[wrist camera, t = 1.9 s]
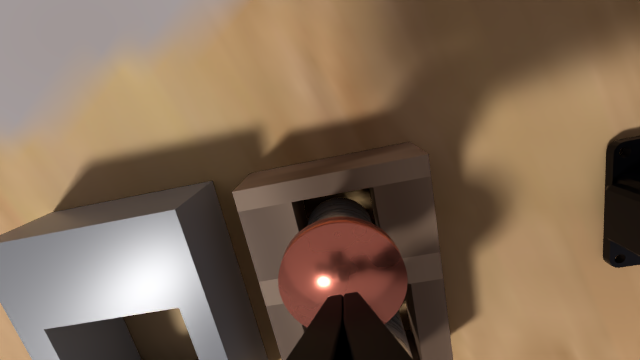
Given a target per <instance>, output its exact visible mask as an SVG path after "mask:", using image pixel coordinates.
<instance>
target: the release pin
mask: <svg viewBox="0 0 640 360" xmlns="http://www.w3.org/2000/svg"><path fill="white" fill-rule="evenodd" d="M407 283H408V279H407V271H406V267H405V264H404V261H403V259H402V257H401V254H400V252H399V249H398V248H397V246H396V244H395V242H394V241H393V240H392V239H391V237H390V236H389V235H388V234H387V233H386V232H385V231H383V230H382V229H380V228H379V227H378V226H376V225H374V224H372V222H371V218H370V216H369V214H368V212H367V211H366V210H365V208H364V207H363V206H362V205H360V204H359V203H357V202H355V201H353V200H351V199H347V198H332V199H328V200H326V201H324V202H322V203H320V204H319V205H318V206H317V207H316V208H315V209H314V210H313V211H312V213H311V214H310V217H309V219H308V223H307V226H306V227H305V228H304V229H302V230H301V231H300V232H299V233H298V234H296V235H295V236H294V238H293V239H292V240H291V241H290V243H289V245H288V246H287V248H286V250H285V253H284V255H283V258H282V262H281V265H280V269H279V275H278V287H279V292H280V296H281V298H282V301H283V303H284V305H285V307H286V308H287V310H288V311H289V313H290V314H291V315H292V316H293V317H294V318H295V319H296V320H297V321H298V322H300V323H301V324H302V325H304V326H305V327H308V326H309V324H310V323H311V321H312V320H313V318H314V317H315V315H316V314H317V312H318V311H319V309H320V308H321V306H322V305H323V303H324V302H325V300H326V299H327V297H329V296H333V295H339V294H341V295H343V296H344V294H346V293H352V292H358V293H359V294H360V295H361V296H362V297H363V299H364V300H365V301H366V302H367V304H368V305H369V306H370V307H371V308H372V310H373V311H374V312H375V313H376V315H377V316H378V317H379V318H380V319H381V321H382V322H383V323H384V324H385V323H387V322H388V321H389V320H390V319H391V318H392V317H393V316H394V315H395V314H396V313H397V311H398V310H399V308H400V307H401V305H402V303H403V301H404V298H405V296H406V291H407Z"/></svg>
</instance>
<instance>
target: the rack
mask: <svg viewBox="0 0 640 360" xmlns="http://www.w3.org/2000/svg"><path fill="white" fill-rule="evenodd" d="M0 303H1V304H2V306H3V308H4V310H5V312H6V313H7V315H8V317H9V319H10V321H11V322H12V324H13V326H14V328H15V330H16V331H17V333H18V335H19V337H20V339H21V340H22V342H23V344H24V346H25V348H26V349H27V351H28V353H29V355H30V357H31V358H32V360H141V358H140V355H139V353H138V351H137V349H136V346H135V344H134V342H133V340H132V337H131V335H130V333H129V331H128V328H127V326H126V324H125V321H124V319H123V317H125V316H131V315H137V314H143V313H150V312H156V311H162V310H168V309H175V308H179V309H180V312H181V314H182V317H183V320H184V322H185V325H186V327H187V330H188V333H189V335H190V338H191V340H192V343H193V346H194V348H195V351H196V353H197V356H198V359H199V360H268V358H267V355H266V352H265V349H264V345H263V342H262V339H261V336H260V333H259V329H258V326H257V323H256V320H255V317H254V313H253V310H252V307H251V304H250V301H249V297H248V294H247V291H246V288H245V284H244V281H243V278H242V275H241V272H240V268H239V265H238V262H237V259H236V256H235V252H234V249H233V246H232V243H231V239H230V236H229V233H228V230H227V227H226V223H225V220H224V217H223V214H222V211H221V207H220V204H219V201H218V198H217V194H216V191H215V188H214V185H213V182H212V181H209V182H203V183H198V184H193V185H188V186H183V187H178V188H173V189H168V190H163V191H158V192H153V193H148V194H142V195H137V196H132V197H127V198H122V199H117V200H112V201H107V202H102V203H97V204H92V205H87V206H82V207H76V208H71V209H66V210H61V211H56V212H52V213H49V214H47V215H45V216H43V217H40V218H38V219H36V220H34V221H31V222H29V223H27V224H25V225H22V226H20V227H18V228H16V229H13V230H11V231H9V232H6V233H4V234H2V235H0Z"/></svg>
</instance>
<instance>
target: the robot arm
mask: <svg viewBox="0 0 640 360" xmlns="http://www.w3.org/2000/svg"><path fill="white" fill-rule="evenodd" d="M622 148H623V149H624V150H623V152H622V153H621V154H619V152H620V150H621V149H622ZM617 255H618V257H617V258H615V257H616V256H617ZM603 259H604V261H605V262H607V263H608V264H610V265H611V266H613V267H618V268H620V267H626V266H633V265H640V136H636V137H631V138H625V139H620V140H616V141H614V142H612V143H611V144H610V145H609V146H608V148H607V152H606V177H605V208H604V239H603ZM286 360H413V358H412V357H411V356H410V355H409V354H408V352H407V351H406V350H405V349H404V347H403V346H402V345H401V344H400V343H399V341H398V340H397V339H396V338H395V337H394V335H393V334H392V333H391V332H390V330H389V329H388V328H387V327H386V326H385V324H384V323H383V322H382V321H381V319H380V318H379V317H378V316H377V315H376V313H375V312H374V311H373V310H372V308H371V307H370V306H369V305H368V304H367V302H366V301H365V300H364V299H363V297H362V296H361V295H360V294H359V293H358V292H352V293H346V294H344V296H343V295H341V294H339V295H333V296H329V297H327V299H326V300H325V302H324V303H323V305H322V306H321V308H320V309H319V311H318V312H317V314H316V315H315V317H314V318H313V320H312V321H311V323H310V324H309V326H308V327H307V329H306V330H305V332H304V333H303V335H302V336H301V338H300V339H299V341H298V342H297V344H296V345H295V347H294V348H293V350H292V351H291V353H290V354H289V356H288V357H287V359H286Z"/></svg>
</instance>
